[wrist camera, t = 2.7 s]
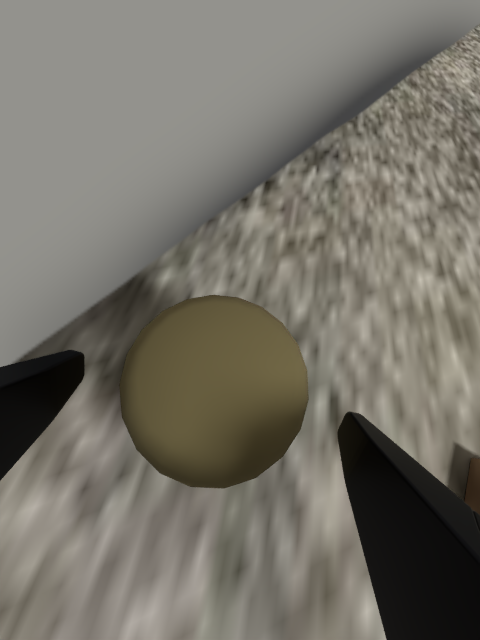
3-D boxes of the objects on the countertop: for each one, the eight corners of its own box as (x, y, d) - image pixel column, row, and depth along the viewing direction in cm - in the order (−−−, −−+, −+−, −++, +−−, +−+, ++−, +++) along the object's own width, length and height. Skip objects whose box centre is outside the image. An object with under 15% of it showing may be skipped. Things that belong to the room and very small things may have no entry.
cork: (161, 467, 14) (51, 562, 4) (163, 362, 17) (95, 261, 7) (266, 454, 15) (379, 508, 5) (254, 356, 17) (315, 259, 7)
